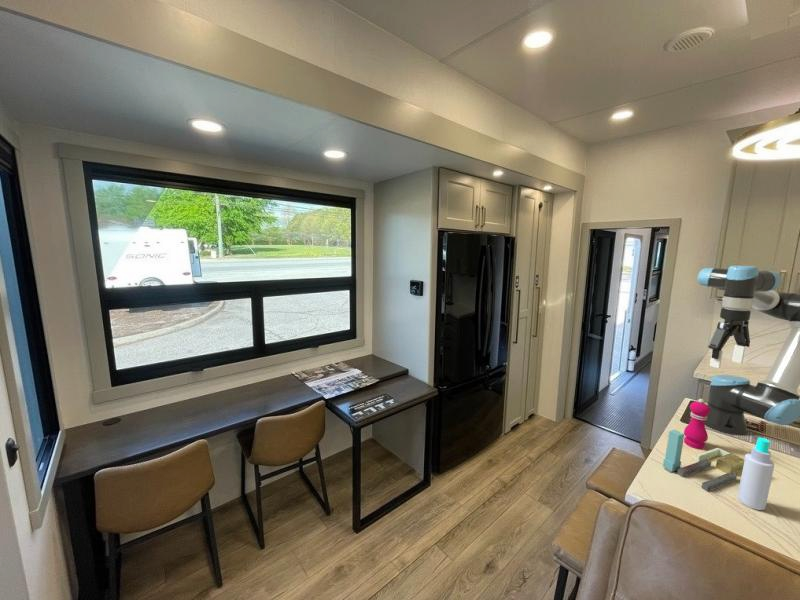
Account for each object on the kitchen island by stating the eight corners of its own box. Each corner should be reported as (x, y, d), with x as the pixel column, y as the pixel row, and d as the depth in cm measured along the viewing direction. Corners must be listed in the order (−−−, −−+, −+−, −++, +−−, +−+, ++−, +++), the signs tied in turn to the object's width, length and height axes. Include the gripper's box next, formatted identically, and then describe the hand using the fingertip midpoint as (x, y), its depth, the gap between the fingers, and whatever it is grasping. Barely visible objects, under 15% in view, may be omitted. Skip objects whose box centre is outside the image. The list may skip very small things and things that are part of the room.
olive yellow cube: (722, 465, 120) (723, 455, 120) (736, 472, 117) (738, 462, 116) (715, 467, 119) (717, 458, 118) (729, 475, 115) (731, 464, 115)
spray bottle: (771, 510, 100) (785, 445, 96) (753, 511, 99) (766, 446, 96) (748, 495, 106) (761, 433, 102) (731, 496, 105) (743, 434, 101)
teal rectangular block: (662, 466, 119) (668, 431, 117) (670, 463, 120) (676, 429, 118) (671, 471, 116) (677, 436, 114) (680, 469, 118) (685, 433, 115)
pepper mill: (710, 451, 128) (718, 404, 125) (689, 448, 130) (697, 402, 126) (698, 440, 135) (705, 395, 132) (678, 438, 137) (685, 394, 133)
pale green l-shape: (717, 453, 127) (718, 447, 127) (764, 476, 114) (766, 470, 114) (696, 460, 123) (697, 454, 122) (743, 485, 110) (744, 478, 110)
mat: (673, 465, 120) (673, 464, 120) (679, 469, 118) (679, 468, 118) (664, 468, 118) (664, 468, 118) (670, 472, 116) (670, 471, 116)
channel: (705, 464, 121) (706, 459, 120) (736, 479, 113) (737, 474, 112) (677, 473, 116) (677, 468, 115) (707, 491, 107) (708, 486, 107)
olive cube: (729, 462, 122) (731, 453, 121) (743, 469, 118) (745, 459, 117) (722, 464, 120) (724, 455, 120) (736, 472, 117) (738, 462, 116)
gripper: (742, 304, 125) (733, 357, 128) (701, 309, 116) (692, 365, 120) (769, 308, 118) (759, 363, 121) (728, 313, 109) (717, 372, 113)
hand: (726, 364), depth 121 cm, fingers open, 13 cm apart
